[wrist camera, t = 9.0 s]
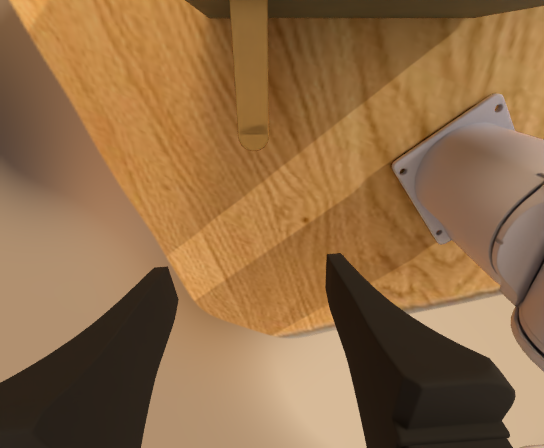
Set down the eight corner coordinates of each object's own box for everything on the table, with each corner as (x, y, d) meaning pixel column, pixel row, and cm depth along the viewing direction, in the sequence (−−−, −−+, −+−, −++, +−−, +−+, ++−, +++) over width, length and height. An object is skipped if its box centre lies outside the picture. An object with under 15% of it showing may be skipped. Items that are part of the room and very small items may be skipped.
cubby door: (444, 118, 20) (549, 154, 13) (218, 121, 19) (195, 160, 12) (478, 0, 16) (648, -42, 9) (207, 0, 16) (164, -44, 9)
